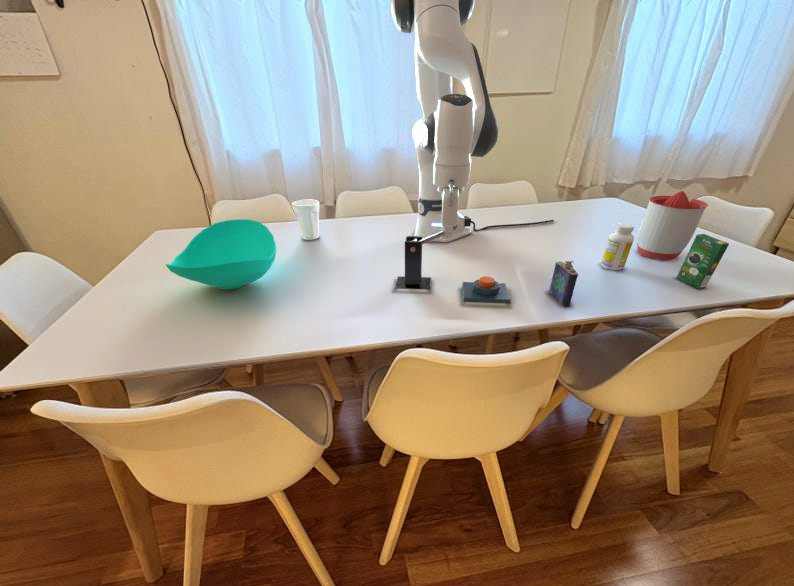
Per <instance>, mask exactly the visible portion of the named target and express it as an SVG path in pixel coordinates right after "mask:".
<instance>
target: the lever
mask: <svg viewBox="0 0 794 586" xmlns="http://www.w3.org/2000/svg"><path fill="white" fill-rule="evenodd" d="M444 232H445V231H444V230H443V231H440V232H438V233H436V234H433V235H431V236H429V237H427V238H424V239H422V240H420V241H422V243H421V245H422V246H423V245H424V244H427V243H429V242H433V241H432V240H434V239H436V238H439V237H441V236H443V235H444ZM412 241H418V240H417V238H416V239H414V240H412Z"/></svg>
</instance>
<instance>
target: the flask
mask: <svg viewBox="0 0 794 586" xmlns="http://www.w3.org/2000/svg"><path fill="white" fill-rule="evenodd" d="M572 263H575V262H574V260H565V261H564V262H563V261H556V262H555V263H554V264H555V265H554V269H553V273H552V277H551V281H550V285H549V290H548V295H549V296H551V297H553V299H554V300H556V301H557V303H559V305H561V306H562V307H564V308H569V307H570V306H571V303H572V298H573V296H574V290H575V287H576V283H577V280H578V277H579V273H578V272H577V270H576V269H575V268H574V266H573V265H572Z"/></svg>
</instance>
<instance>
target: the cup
mask: <svg viewBox="0 0 794 586" xmlns="http://www.w3.org/2000/svg"><path fill="white" fill-rule="evenodd" d="M291 206H292V210H293V212H294V215H295V218H296V221H297V224H298V228H299V230H300V234H301V238H302V239H303V240H307V241H313V240H317V239H319V238H320V201H319V200H318V199H311V198H310V199H309V198H308V199H307V198H306V199H299V200H298V199H297V200H295V201H293V202H292V203H291Z"/></svg>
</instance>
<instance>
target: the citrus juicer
mask: <svg viewBox="0 0 794 586" xmlns="http://www.w3.org/2000/svg"><path fill="white" fill-rule="evenodd" d="M648 200H649V202H648V204H647V207H646V209H645V213H644V215H643V218H642V221H641V224H640V226H639V230H638V235H637V244H636V246H637V252H638V253H639V254H640V256H644V257H647V258H652V259H656V260H662V261H668V260H674V259H676V258H678V256H680V254H682V253H683V251H684V250H685V249H686V247H688V245H689V243H690V242H691V240H692V238H693V236H694V234H695V233H696V231H697V228H698V225H699V223H700V221H701V219H702V217H703V215H704V212H705V210H706V208H707V207H708V206H709V204H708V203H707V202H706V201H703V200H700V199H695V198H693V199H691V200H689V198H688V196H687V194H686V192H685V190H680V191H678V192H676V193H675V194H673V195H656V196H651V197H649V199H648Z"/></svg>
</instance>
